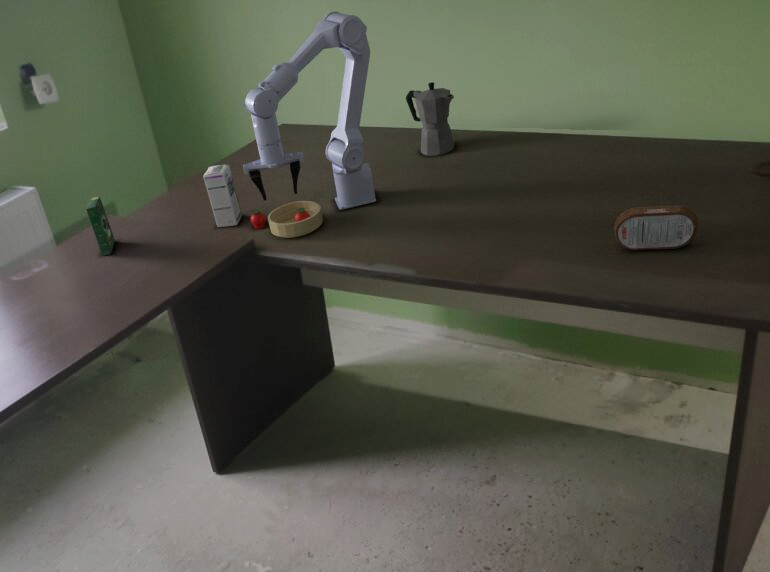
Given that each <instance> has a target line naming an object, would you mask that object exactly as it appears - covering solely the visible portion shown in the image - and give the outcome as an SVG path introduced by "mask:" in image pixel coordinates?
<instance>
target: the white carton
mask: <svg viewBox="0 0 770 572" xmlns="http://www.w3.org/2000/svg"><path fill="white" fill-rule="evenodd" d="M202 177H203V181H204V185H205V189H206V192H207V195H208V199H209V202H210V206H211V209H212V213H213V217H214V220H215V224H216V227H217V228H224V227H225V228H226V227H227V228H228V227H233V226H238V224H239V223H240V220H241V219H242V217H243V214H242V210H241V205H240V202H239V199H238V194H237V191H236V186H235V183H234V179H233V174H232V171H231V167H230V164H229V163H226V164H225V163H223V164H216V165H211V166H208V167H207V170H206V171H205V173H204V174H203V176H202Z"/></svg>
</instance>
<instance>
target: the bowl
mask: <svg viewBox="0 0 770 572" xmlns="http://www.w3.org/2000/svg"><path fill="white" fill-rule="evenodd" d="M301 208H304V209H305V211H307V212H308V213H309V215H310V217H309V218H307V219H304V220H302V221H298V222H296V221H295V215H296V213H297V210H298V209H301ZM267 220H268V221H267V222H268V226H269V229H270V233H271V234H272V235H274V236H276V237H280V238H283V239H284V238H285V239H292V238H298V237H302V236H303V237H304V236H306V235H308V234H310V233H312V232H314V231H315V230H317V229H318V228H319V227H320V226H321V225H322V224H323V222H324V218H323V212H322V208H321V205H320V204H319V203H318V202H317V201H313V200H297V201H292V202H287V203H284V204H282V205H279V206H277V207H275V208H274V209H272V210H271V211H270V212H269V213H268V216H267Z"/></svg>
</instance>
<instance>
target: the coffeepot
mask: <svg viewBox="0 0 770 572" xmlns="http://www.w3.org/2000/svg"><path fill="white" fill-rule="evenodd" d="M427 85H428V89H426V90H423V91H422V90H414V89H413V90H412V89H411V90H408V92H407V94H406V95H405V101H406V104H407V106H408V109H409V111H410V114H411V117H412V118H413V121H414V122H421V123H422V128H421V135H420V137H421V138H420V139H421V140H420V153H421V154H422V155H424V156H427V157H434V156H435V157H436V156H442V155H445V154H448V153H450V152H451V151H453V150H454V148H455V141H454V137H453V134H452V130H451V126H450V124H449V120H448V118H449V116H450V104H451V102H452V100H454V98H455V95H454V94H452V93H451V90H450V89H447V88H445V87H440V88H439V87H438V88H435V82H434V81H433V82H429V83H428V84H427ZM413 98H414V100H413ZM414 101H415V105H416V108H415V105H414ZM417 113H418V115H417Z"/></svg>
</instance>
